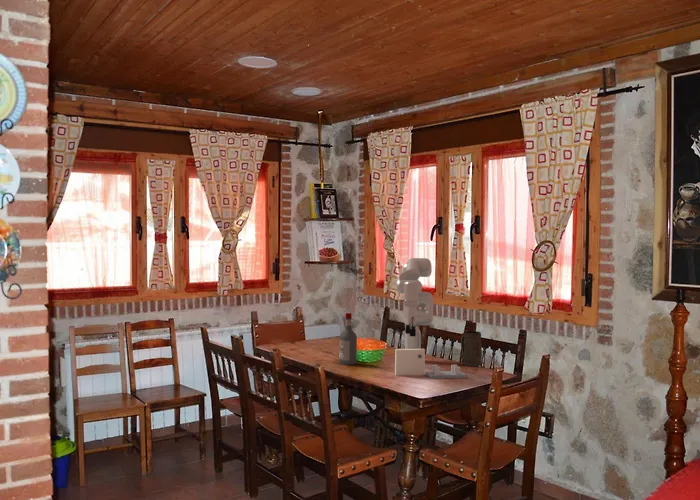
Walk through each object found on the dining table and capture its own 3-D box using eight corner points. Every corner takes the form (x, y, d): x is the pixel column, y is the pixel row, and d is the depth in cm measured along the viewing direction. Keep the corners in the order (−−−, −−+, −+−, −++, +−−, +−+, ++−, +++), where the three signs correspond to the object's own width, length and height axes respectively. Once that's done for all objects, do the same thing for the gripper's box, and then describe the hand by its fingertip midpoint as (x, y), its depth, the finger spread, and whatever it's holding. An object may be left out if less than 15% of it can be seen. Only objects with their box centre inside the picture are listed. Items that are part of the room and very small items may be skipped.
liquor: (346, 365, 353) (347, 314, 353) (337, 363, 360) (337, 312, 360) (358, 363, 359) (359, 313, 359) (348, 361, 366) (349, 311, 366)
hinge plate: (425, 374, 334) (425, 364, 334) (460, 373, 336) (460, 363, 336) (430, 378, 324) (430, 368, 324) (466, 377, 326) (466, 367, 326)
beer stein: (486, 365, 361) (484, 331, 362) (475, 367, 354) (473, 333, 355) (465, 362, 373) (464, 330, 374) (454, 364, 366) (453, 331, 366)
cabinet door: (394, 374, 333) (395, 349, 332) (423, 373, 335) (423, 348, 335) (396, 376, 329) (396, 350, 328) (425, 375, 331) (425, 350, 331)
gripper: (400, 302, 340) (400, 332, 340) (408, 305, 323) (407, 337, 323) (413, 302, 341) (413, 332, 341) (421, 305, 324) (421, 337, 324)
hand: (410, 334), depth 332 cm, fingers open, 9 cm apart
